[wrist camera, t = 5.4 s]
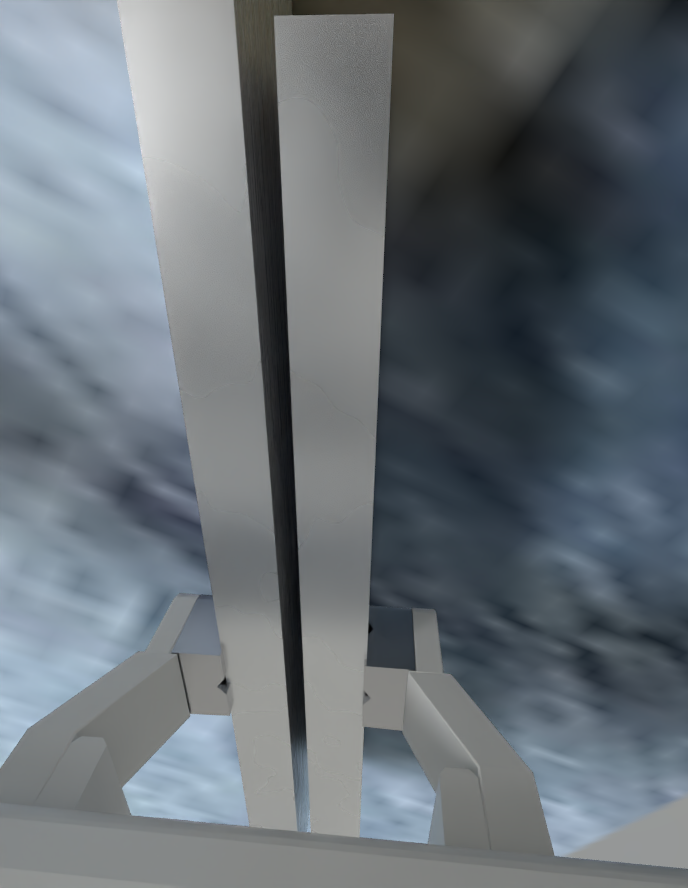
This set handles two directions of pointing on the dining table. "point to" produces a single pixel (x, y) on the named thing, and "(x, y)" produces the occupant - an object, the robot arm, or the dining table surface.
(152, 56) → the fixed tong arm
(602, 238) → the dining table surface
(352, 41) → the bar
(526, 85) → the dining table surface
